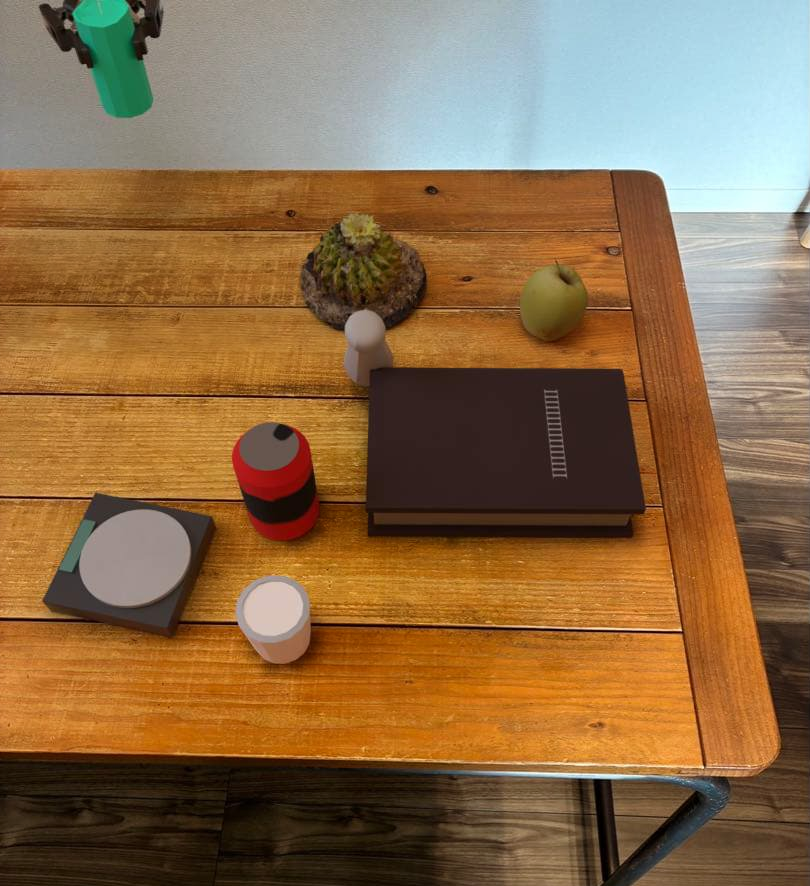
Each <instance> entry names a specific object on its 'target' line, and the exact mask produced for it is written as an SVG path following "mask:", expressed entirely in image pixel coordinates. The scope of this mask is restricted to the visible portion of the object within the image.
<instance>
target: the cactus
mask: <svg viewBox="0 0 810 886" xmlns="http://www.w3.org/2000/svg"><path fill="white" fill-rule="evenodd" d="M387 231H388V230H385V227H384V226H383V227H381V224H379V223H377V222H375V220H374V215H368V214H365V212H363V211H361V213H360V215H359V214H358V213H357V212H355V214H353V212H351V213H349V214H348V215H347V218H345V217H342V220H339V222H334V223H333V226H329V227H327V229H326V231H324V232H323V233H322V234H320V236H319V237H318V239H319V242H318V244H316V246H315V247H312V248H313V249H312V251H310V252H308V254H307V256H306V259H305V260H304V262H303V263H302V267H301V271H300V278H299V279H300V288H301V293H302V298H303V299H304V302H305V304H307V305H308V308H309V309H310V311H311V312H312V313H313V314H314V315H315V316H316V317H317V318H318V319H319V320H321V321H323V322H326V324H328V326H330V327H332V328H335V329H337V330H345V324H346V322H347V321H348V319H349V317H350V316H351V315H352V314H354V313H355V312H357V311H362V310H369V311H372V312H375V313H376V314H377V315H379V316H380V317H381V318H382V320H383V323H384V325H385V327H386V328H389V327H392V326H394V325H395V324H396V323H397V322H399V321H401V320H404V319H405V317H407V316H408V315H409V314H411V313H412V311H413V309H414V308H416V306H417V304H419V302H420V301H421V300H422V297H423V296H424V293H425V291H426V287H427V283H428V282H427V281H428V279H427V277H428V276H427V272H426V268H425V265H424V262H422V259H421V256H420V255H419V252H418V251H417V249H415V248H414V247H412V246H411V245H410V244H409V243H408V242H406V241H403V240H400V239H398V237H396V238H394V236H393V235H392V233H393V232H390V231H388V233H387ZM385 232H386V233H385ZM315 241H316V240H315Z"/></svg>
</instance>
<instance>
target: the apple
mask: <svg viewBox="0 0 810 886" xmlns="http://www.w3.org/2000/svg"><path fill="white" fill-rule="evenodd" d="M554 262H555V264H550V265H545V266H542V267H540V268H538V269H537V270H535V272H533V273H532V274H531V275H530V276H529V277H528V279H527V280H526V281H525V283H524V285H523V287H522V291H521V293H520V299H519V312H520V317H521V321H522V325H523V327H524V328H525V330H526V331H527V332H529V333H530V334H531V335H532V336H534V337H535V338H538V339H539V340H541V341H544V342H552V341H553V342H554V341H556V340H559V339H561V338H563V337H564V336H566V335H567V334H569V333H570V332H571V331H573V330H574V329H575V328H576V327H577V326H578V325H579V324H580V322H581V321H582V319H583V318H584V316H585V315H586V312H587V309H588V304H589V293H588V289H587V287H586V285H585V284H584V282H583V279H582V277H581V276H580V274H579V273H578V272H577V271H576V270H575V269H574V268H572V267H571V266H568V265H567V264H560V263H559V262H558V261H557V260H556V259H554Z"/></svg>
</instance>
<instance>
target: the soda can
mask: <svg viewBox="0 0 810 886" xmlns="http://www.w3.org/2000/svg"><path fill="white" fill-rule="evenodd" d="M231 463H232V467H233V471H234V474H235V477H236V480H237V483H238V485H239V490H240V494H241V496H242V498H243V502H244V505H245V509H246V512H247V515H248V518H249V521H250V523H251V525H252V527H253V528H254V529H255V531H256V532H258V533H259V535H261V536H263V537H265V538H267V539H271V540H274V541H290V540H293V539H297V538H299V537H301V536H303V535H305V534H306V533H307V532H309V531H310V530H311V529H312V528H313V527H314V525H315V524H316V523H317V520H318V519H319V515H320V500H319V493H318V489H317V482H316V476H315V470H314V464H313V458H312V452H311V446H310V443H309V441H308V439H307V438H306V436H305V435H304V433H302V432H301V431H300V430H298V429H297V428H295V427H293V426H292V425H288V424H284V423H281V422H276V421H275V422H274V421H269V422H268V421H267V422H262V423H259V424H257V425H254V426H253V427H251V428H249V429H248V430H247V431H246V432H245V433H243V434H242V435H241V436H240V437H239V438H238V439H237V441H236V442H235V444H234V445H233V449H232V453H231Z"/></svg>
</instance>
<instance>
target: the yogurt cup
mask: <svg viewBox="0 0 810 886" xmlns="http://www.w3.org/2000/svg"><path fill="white" fill-rule="evenodd" d="M234 614H235V618H236V622H237V624H238V627H239V628H240V630H241V631H242V633H243V634H244V636H245V637H246V639H247V640H248V641H249V643H250V644H251V645H252V647H253V648H254V650H255V651H256V652H257V654H258V655H259V656H260V657H261V658H262V659H263V660H265V661H267V662H269V663H272V664H278V665H280V664H281V665H285V664H288V663H291V662H294V661H296V660H298V659H299V658H300V657H302V656H303V655H304V654H305V653H306V651H307V649H308V647H309V645H310V643H311V601H310V599H309V595H308V592H307V590H306V589H305V588H304V587H303V585H301V584H300V583H299V582H298V581H297V580H295V579H293V578H291V577H288V576H286V575H277V574H276V575H274V574H273V575H272V574H270V575H266V576H263V577H260V578H256V579H254V581H253V582H251V583H250V584H248V585H247V586H246V587H244V589H243V590H242V592H241V594H240V595H239V596H238V598H237V600H236V606H235V612H234Z"/></svg>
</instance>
